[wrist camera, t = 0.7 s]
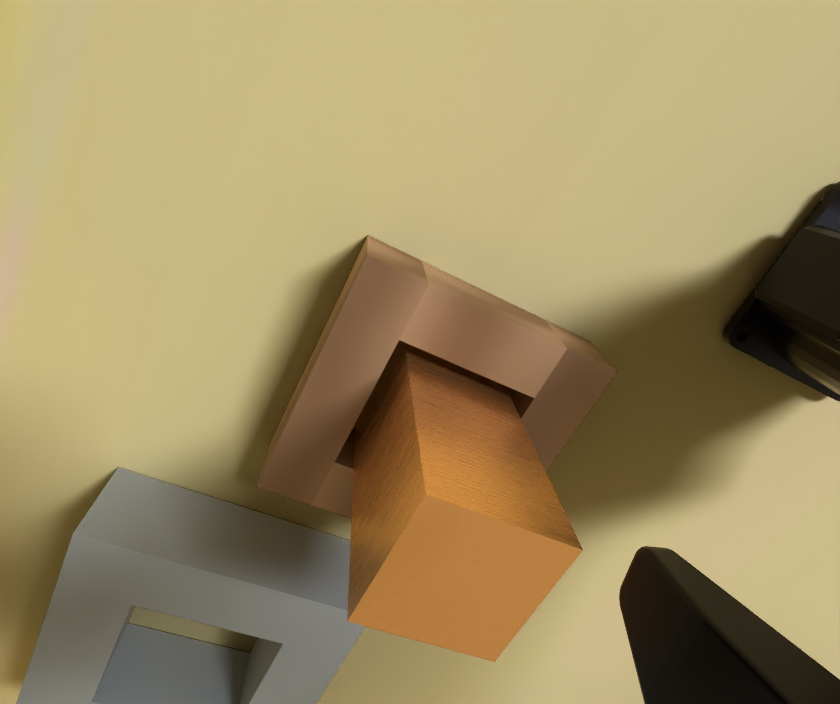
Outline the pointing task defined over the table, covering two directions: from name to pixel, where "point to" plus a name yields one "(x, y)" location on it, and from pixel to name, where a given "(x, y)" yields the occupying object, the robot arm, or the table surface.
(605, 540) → the table surface
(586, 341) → the mount
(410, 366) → the peg
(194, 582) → the socket
